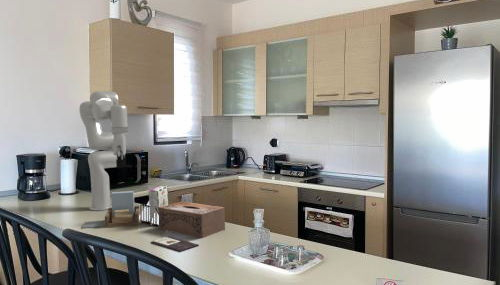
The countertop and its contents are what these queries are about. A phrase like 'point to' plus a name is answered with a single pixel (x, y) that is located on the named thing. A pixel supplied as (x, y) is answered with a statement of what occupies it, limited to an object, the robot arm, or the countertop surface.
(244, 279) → the countertop surface
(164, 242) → the chocolate bar
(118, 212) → the offcut upper
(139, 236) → the countertop surface
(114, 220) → the offcut lower
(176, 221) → the tissue box cover
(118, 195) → the panel
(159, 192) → the candy bar box
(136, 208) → the rack
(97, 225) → the mat
